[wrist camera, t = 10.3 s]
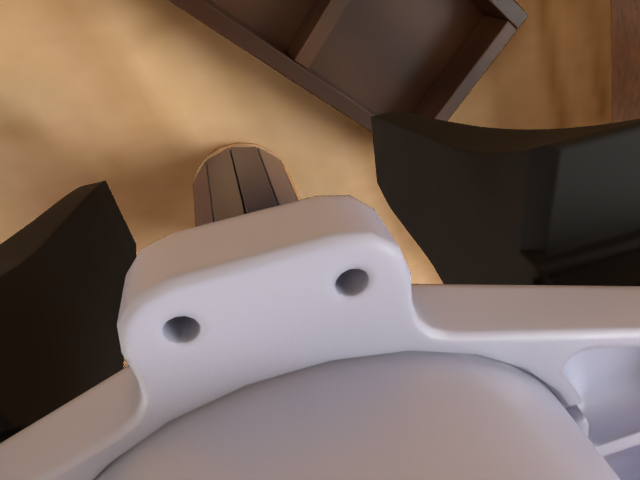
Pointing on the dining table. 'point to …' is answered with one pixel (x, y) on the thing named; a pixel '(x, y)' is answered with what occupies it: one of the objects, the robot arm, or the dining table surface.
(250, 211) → the cup
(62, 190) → the dining table surface
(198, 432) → the robot arm
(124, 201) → the dining table surface
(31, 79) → the dining table surface
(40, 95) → the dining table surface
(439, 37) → the cup holder
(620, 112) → the tissue box cover
